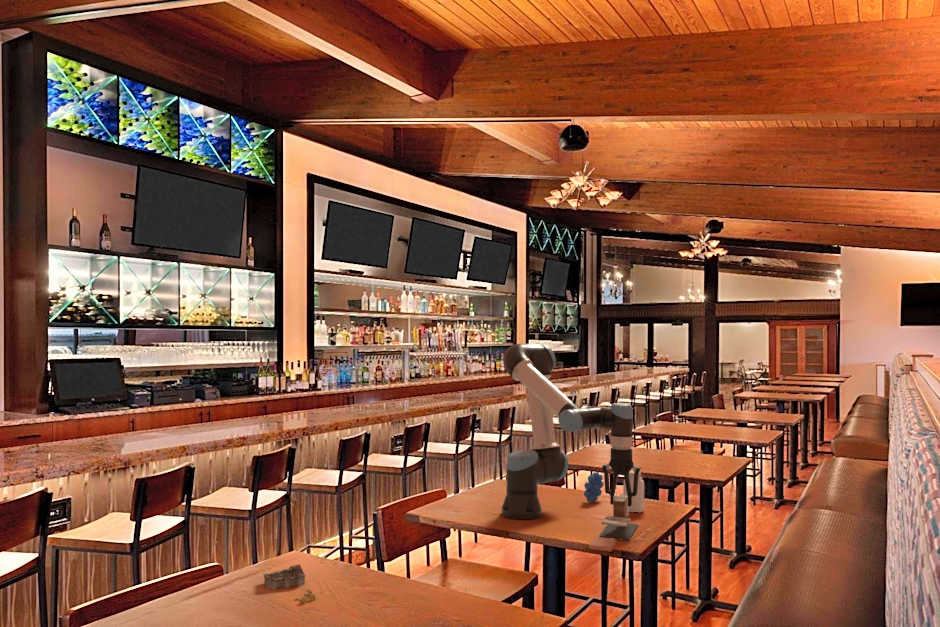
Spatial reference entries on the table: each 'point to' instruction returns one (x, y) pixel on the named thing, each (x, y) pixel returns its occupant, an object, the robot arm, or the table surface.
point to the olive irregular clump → (306, 597)
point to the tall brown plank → (618, 513)
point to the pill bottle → (639, 498)
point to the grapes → (593, 487)
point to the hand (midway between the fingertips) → (620, 514)
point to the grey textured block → (285, 578)
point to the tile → (602, 544)
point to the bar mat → (619, 531)
